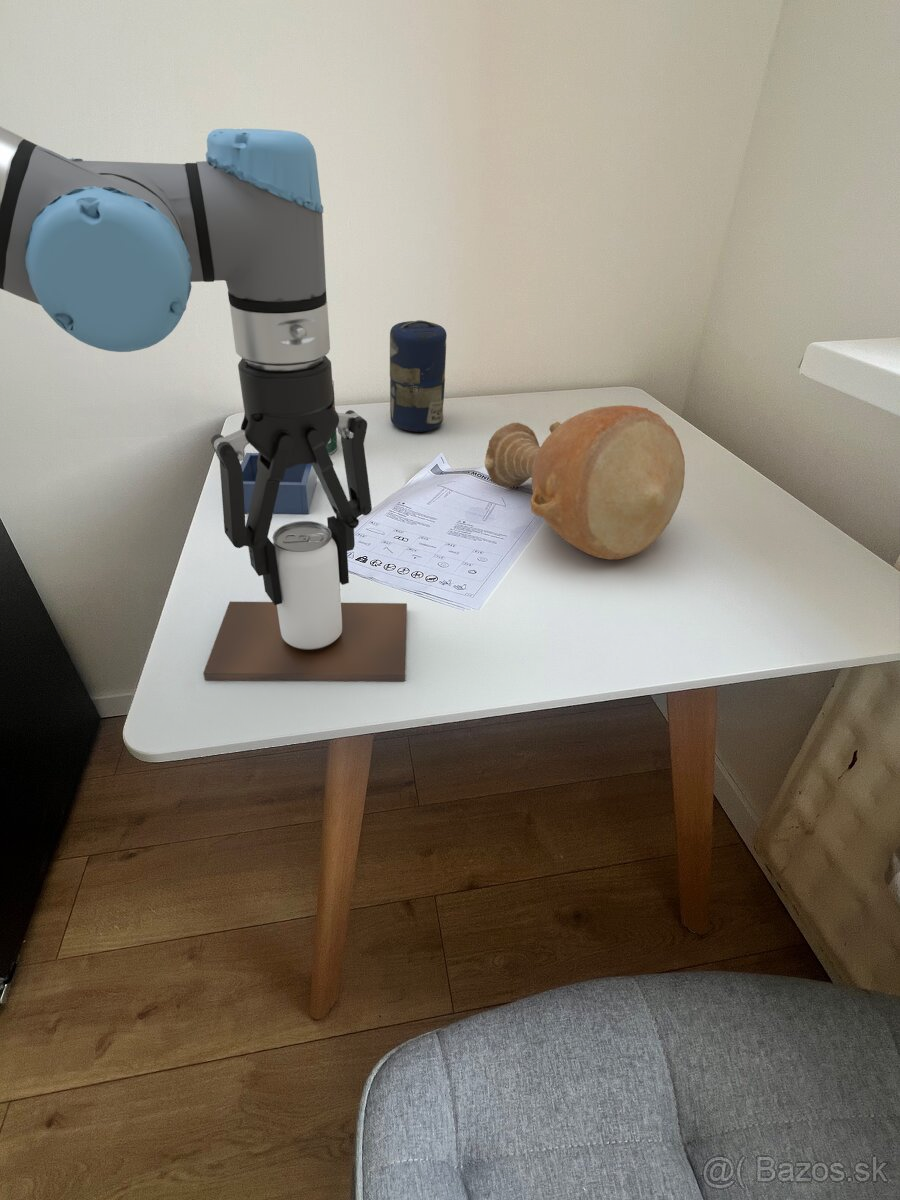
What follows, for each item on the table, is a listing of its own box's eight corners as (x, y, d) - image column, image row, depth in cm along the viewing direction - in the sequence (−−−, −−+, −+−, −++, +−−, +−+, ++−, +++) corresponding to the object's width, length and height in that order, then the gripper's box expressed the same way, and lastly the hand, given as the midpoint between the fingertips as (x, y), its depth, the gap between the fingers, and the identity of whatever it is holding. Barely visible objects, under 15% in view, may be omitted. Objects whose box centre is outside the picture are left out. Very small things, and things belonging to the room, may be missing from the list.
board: (204, 680, 70) (203, 672, 69) (230, 608, 79) (229, 601, 79) (405, 681, 71) (405, 674, 70) (406, 610, 80) (406, 603, 80)
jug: (579, 519, 75) (427, 449, 96) (637, 607, 88) (493, 528, 109) (693, 382, 76) (519, 343, 98) (734, 489, 89) (572, 434, 111)
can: (341, 651, 72) (334, 553, 65) (277, 652, 71) (263, 553, 64) (344, 613, 77) (338, 518, 70) (284, 614, 76) (272, 518, 69)
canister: (389, 415, 128) (388, 312, 117) (440, 414, 129) (444, 312, 118) (391, 435, 120) (390, 327, 110) (446, 435, 121) (450, 328, 111)
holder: (236, 513, 97) (231, 483, 94) (250, 480, 105) (246, 452, 102) (308, 514, 97) (306, 485, 95) (317, 481, 105) (314, 454, 103)
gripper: (175, 389, 50) (224, 637, 64) (410, 354, 59) (409, 579, 72) (150, 359, 55) (200, 595, 69) (370, 331, 64) (376, 545, 77)
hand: (307, 586), depth 71 cm, fingers closed on can, 6 cm apart
